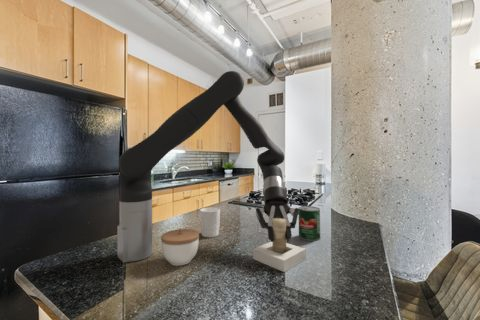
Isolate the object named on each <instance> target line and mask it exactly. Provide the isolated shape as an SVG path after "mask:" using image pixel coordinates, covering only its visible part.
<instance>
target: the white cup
mask: <svg viewBox="0 0 480 320" xmlns="http://www.w3.org/2000/svg"><path fill="white" fill-rule="evenodd" d="M199 214H200V215H199V216H200V219H199V220H200V229H201V236H202V237H204V238H214V237H217V236H219V235H220V225H221V224H220V220H221V209H220V208H219V207H211V206H210V207H203V208H201V209H199Z"/></svg>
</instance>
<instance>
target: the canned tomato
mask: <svg viewBox="0 0 480 320" xmlns="http://www.w3.org/2000/svg"><path fill="white" fill-rule="evenodd" d="M298 209H299V211H298V238H300V239H301V240H304V241H309V242H310V241H311V242H316V241H319V240H321V238H322V237H321V208H320V207H317V206H311V205H309V206H307V205H302V206H299V207H298Z"/></svg>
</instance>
